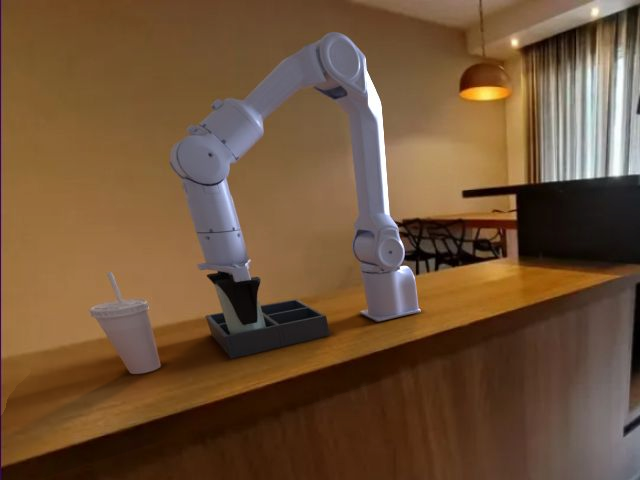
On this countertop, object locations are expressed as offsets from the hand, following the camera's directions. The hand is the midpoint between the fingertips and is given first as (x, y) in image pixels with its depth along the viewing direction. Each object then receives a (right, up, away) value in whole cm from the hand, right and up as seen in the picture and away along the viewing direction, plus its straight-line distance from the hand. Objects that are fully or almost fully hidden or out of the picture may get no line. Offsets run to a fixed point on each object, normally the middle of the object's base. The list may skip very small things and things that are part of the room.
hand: (245, 319), depth 71 cm
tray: (0, -2, +7) cm, 7 cm away
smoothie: (-11, -8, -6) cm, 15 cm away
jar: (0, -2, +1) cm, 2 cm away
